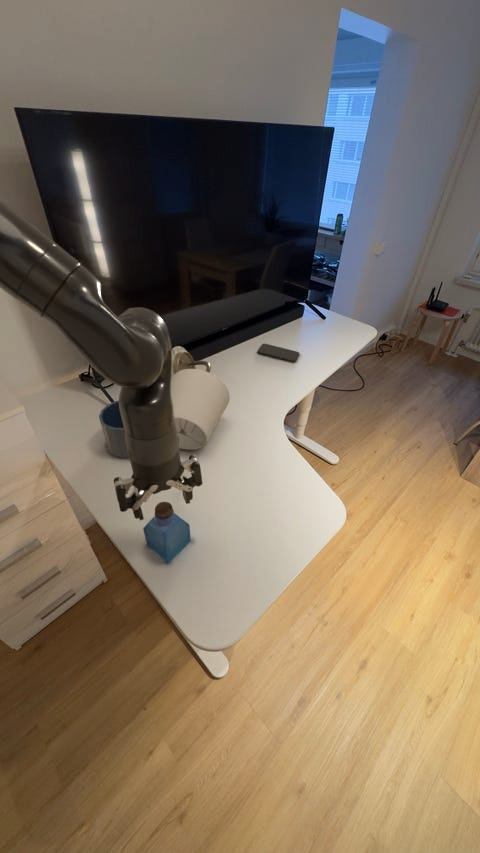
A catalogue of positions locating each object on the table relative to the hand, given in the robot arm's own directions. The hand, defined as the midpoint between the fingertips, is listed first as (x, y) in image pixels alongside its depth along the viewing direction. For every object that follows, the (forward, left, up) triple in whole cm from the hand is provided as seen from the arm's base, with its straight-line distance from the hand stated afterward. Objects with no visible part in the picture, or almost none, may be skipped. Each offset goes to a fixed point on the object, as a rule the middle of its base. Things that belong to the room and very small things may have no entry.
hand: (164, 507), depth 62 cm
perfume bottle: (0, 0, -12) cm, 12 cm away
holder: (-1, +32, -12) cm, 34 cm away
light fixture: (+19, +37, -12) cm, 44 cm away
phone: (+60, +59, -12) cm, 85 cm away
